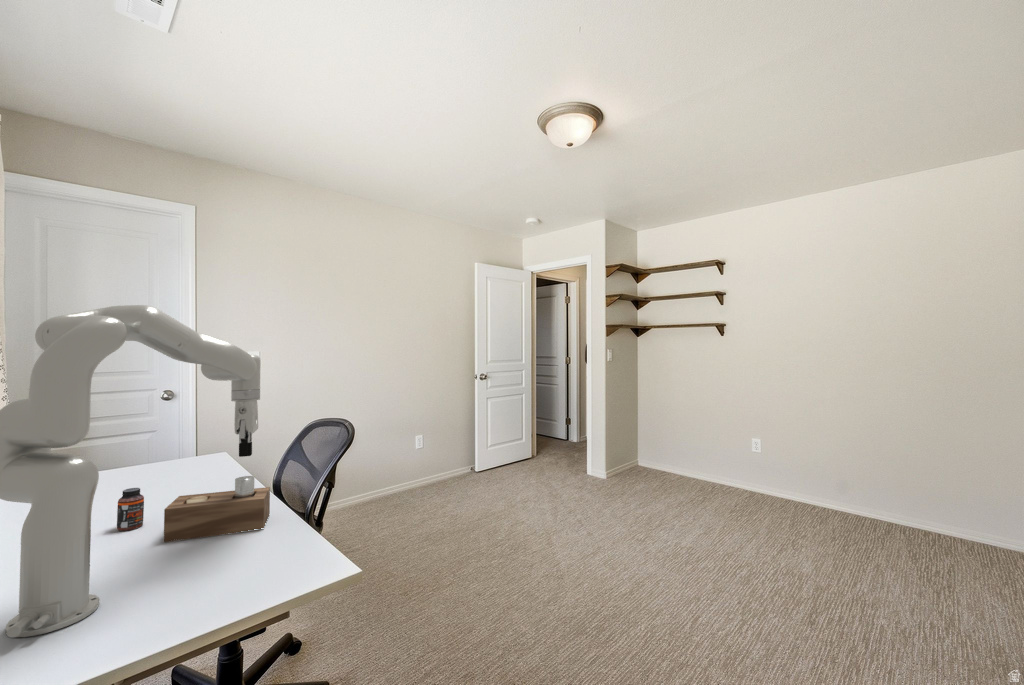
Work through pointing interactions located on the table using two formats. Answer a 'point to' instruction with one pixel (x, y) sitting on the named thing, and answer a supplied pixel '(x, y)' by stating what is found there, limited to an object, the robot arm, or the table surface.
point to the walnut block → (215, 515)
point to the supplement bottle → (130, 510)
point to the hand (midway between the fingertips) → (245, 455)
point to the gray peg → (244, 487)
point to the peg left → (197, 499)
